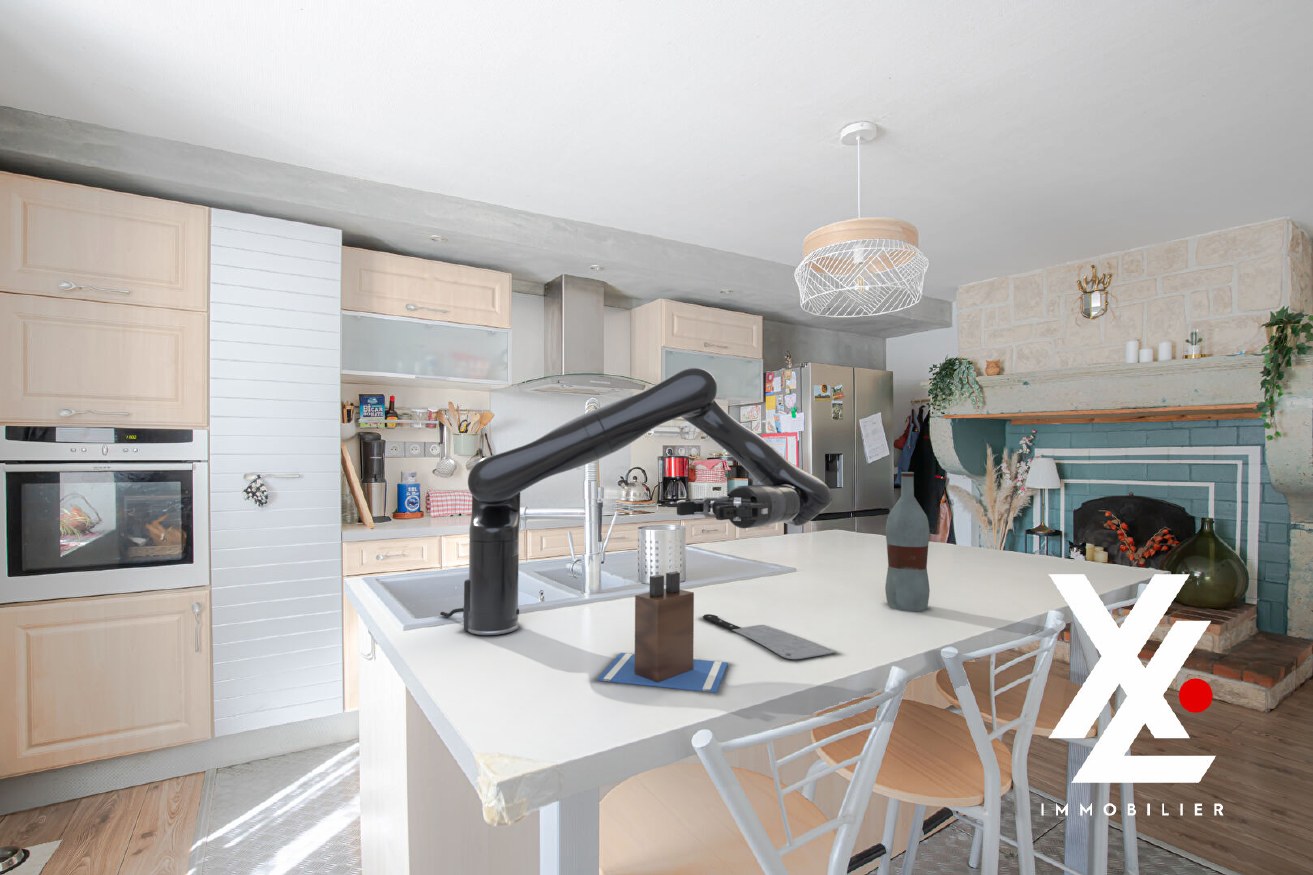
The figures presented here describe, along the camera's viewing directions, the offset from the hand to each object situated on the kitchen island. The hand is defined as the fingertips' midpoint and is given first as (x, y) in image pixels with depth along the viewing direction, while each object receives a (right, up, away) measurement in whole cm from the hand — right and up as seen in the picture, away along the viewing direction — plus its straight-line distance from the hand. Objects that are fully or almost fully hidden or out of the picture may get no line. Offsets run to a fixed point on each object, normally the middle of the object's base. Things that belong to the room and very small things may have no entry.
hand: (697, 511), depth 103 cm
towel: (-5, -25, -5) cm, 26 cm away
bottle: (+49, -26, +37) cm, 67 cm away
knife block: (-5, -24, -6) cm, 25 cm away
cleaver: (+13, -25, +15) cm, 32 cm away
